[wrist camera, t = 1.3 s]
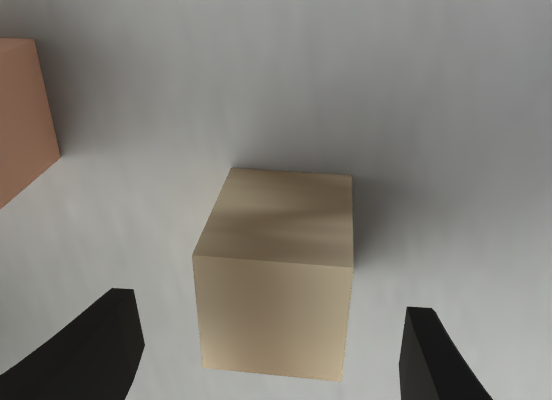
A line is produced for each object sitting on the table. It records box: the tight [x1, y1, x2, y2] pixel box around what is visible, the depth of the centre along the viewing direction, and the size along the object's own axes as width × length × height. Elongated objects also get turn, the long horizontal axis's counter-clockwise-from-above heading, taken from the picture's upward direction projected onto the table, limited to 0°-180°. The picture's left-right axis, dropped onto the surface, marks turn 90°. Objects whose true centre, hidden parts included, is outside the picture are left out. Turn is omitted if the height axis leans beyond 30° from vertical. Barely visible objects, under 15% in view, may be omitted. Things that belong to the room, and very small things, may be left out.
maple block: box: [192, 168, 354, 382], centre depth 16 cm, size 4×4×5 cm
